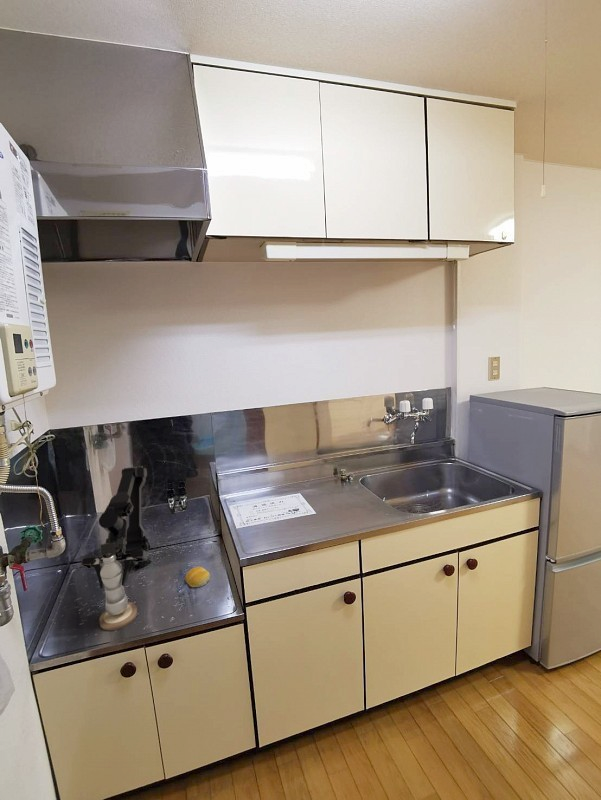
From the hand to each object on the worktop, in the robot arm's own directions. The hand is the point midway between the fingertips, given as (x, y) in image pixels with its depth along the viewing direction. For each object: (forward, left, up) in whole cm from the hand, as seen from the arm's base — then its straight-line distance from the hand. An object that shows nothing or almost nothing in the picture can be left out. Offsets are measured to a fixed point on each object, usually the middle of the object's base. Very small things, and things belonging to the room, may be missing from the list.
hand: (112, 587), depth 123 cm
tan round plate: (-1, +1, -12) cm, 12 cm away
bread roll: (+4, +28, -12) cm, 30 cm away
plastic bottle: (-1, +1, -10) cm, 10 cm away
